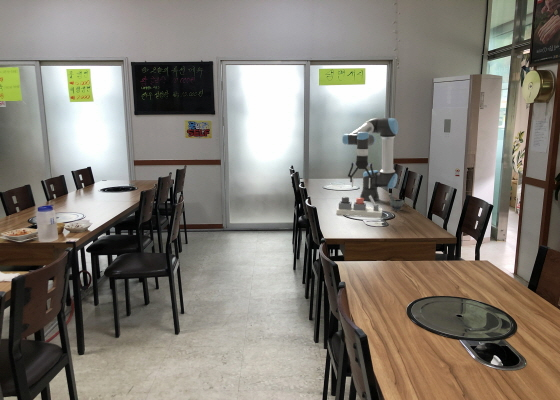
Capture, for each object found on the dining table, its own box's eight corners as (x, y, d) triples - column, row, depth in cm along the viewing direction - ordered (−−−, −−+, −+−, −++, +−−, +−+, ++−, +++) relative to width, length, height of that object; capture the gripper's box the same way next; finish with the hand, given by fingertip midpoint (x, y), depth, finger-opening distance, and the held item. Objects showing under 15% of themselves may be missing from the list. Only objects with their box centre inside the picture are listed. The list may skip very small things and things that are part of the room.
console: (339, 209, 323) (339, 200, 322) (382, 212, 316) (382, 202, 315) (336, 214, 308) (336, 204, 307) (381, 217, 301) (381, 206, 300)
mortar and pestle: (401, 208, 329) (403, 192, 326) (404, 211, 320) (405, 194, 317) (386, 208, 330) (387, 192, 327) (388, 211, 320) (389, 194, 318)
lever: (375, 208, 311) (369, 196, 310) (377, 207, 310) (370, 195, 310) (375, 209, 307) (368, 197, 307) (377, 208, 307) (370, 196, 306)
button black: (342, 203, 316) (342, 196, 315) (349, 204, 315) (349, 197, 314) (341, 205, 312) (341, 198, 311) (348, 205, 310) (348, 198, 310)
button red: (356, 204, 314) (356, 197, 313) (363, 205, 313) (364, 197, 312) (355, 206, 309) (356, 198, 308) (363, 206, 308) (363, 199, 307)
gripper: (344, 155, 304) (343, 187, 308) (379, 156, 298) (378, 189, 302) (345, 154, 311) (344, 185, 315) (380, 155, 305) (378, 187, 310)
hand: (360, 187), depth 309 cm, fingers open, 11 cm apart
